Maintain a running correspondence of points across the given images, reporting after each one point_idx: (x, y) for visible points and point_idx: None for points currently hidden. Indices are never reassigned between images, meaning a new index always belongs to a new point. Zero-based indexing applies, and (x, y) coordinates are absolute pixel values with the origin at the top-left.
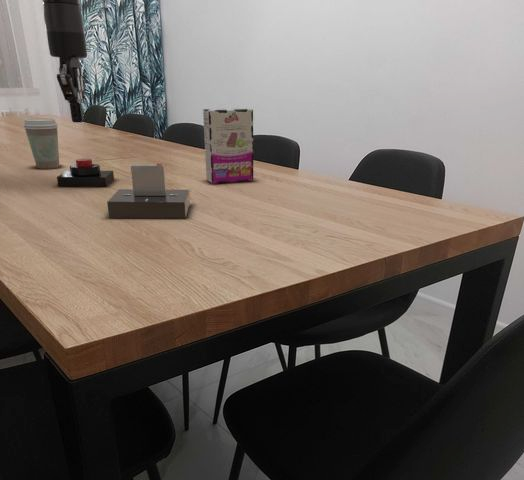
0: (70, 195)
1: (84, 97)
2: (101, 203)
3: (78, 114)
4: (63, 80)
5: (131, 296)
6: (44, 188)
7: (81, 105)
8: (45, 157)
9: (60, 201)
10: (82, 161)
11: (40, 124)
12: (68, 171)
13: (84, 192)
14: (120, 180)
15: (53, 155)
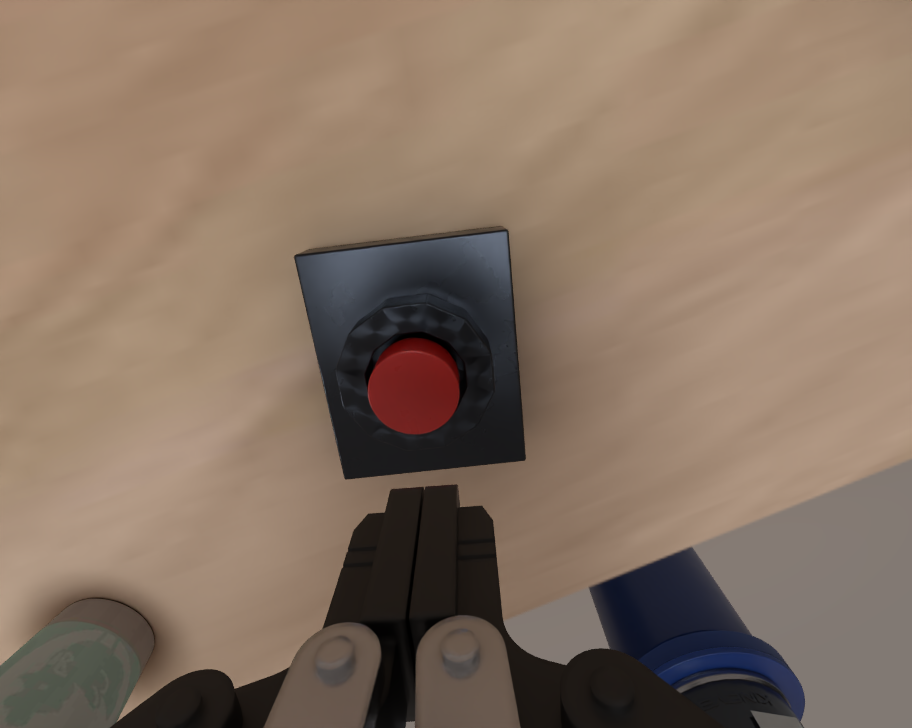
0: (692, 325)
1: (172, 699)
2: (874, 120)
3: (484, 541)
4: None
5: None
6: (553, 476)
7: (377, 603)
8: (120, 664)
9: (809, 321)
10: (457, 384)
11: None
12: (377, 464)
13: (628, 289)
14: (311, 212)
15: (82, 648)
